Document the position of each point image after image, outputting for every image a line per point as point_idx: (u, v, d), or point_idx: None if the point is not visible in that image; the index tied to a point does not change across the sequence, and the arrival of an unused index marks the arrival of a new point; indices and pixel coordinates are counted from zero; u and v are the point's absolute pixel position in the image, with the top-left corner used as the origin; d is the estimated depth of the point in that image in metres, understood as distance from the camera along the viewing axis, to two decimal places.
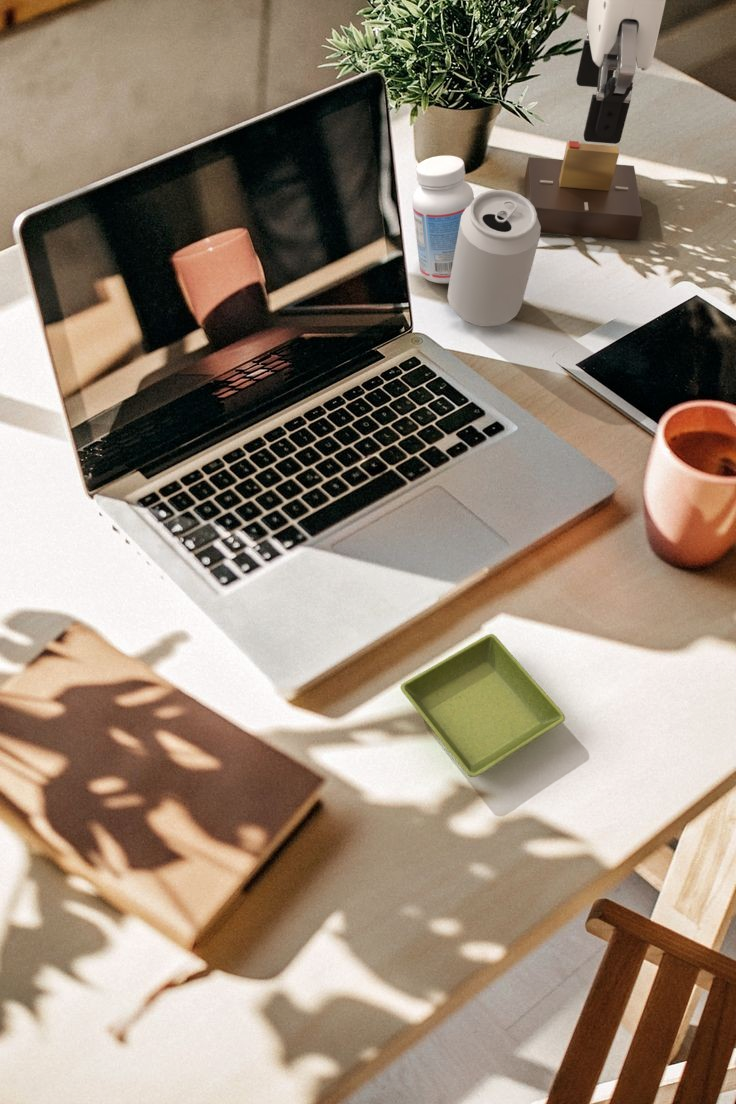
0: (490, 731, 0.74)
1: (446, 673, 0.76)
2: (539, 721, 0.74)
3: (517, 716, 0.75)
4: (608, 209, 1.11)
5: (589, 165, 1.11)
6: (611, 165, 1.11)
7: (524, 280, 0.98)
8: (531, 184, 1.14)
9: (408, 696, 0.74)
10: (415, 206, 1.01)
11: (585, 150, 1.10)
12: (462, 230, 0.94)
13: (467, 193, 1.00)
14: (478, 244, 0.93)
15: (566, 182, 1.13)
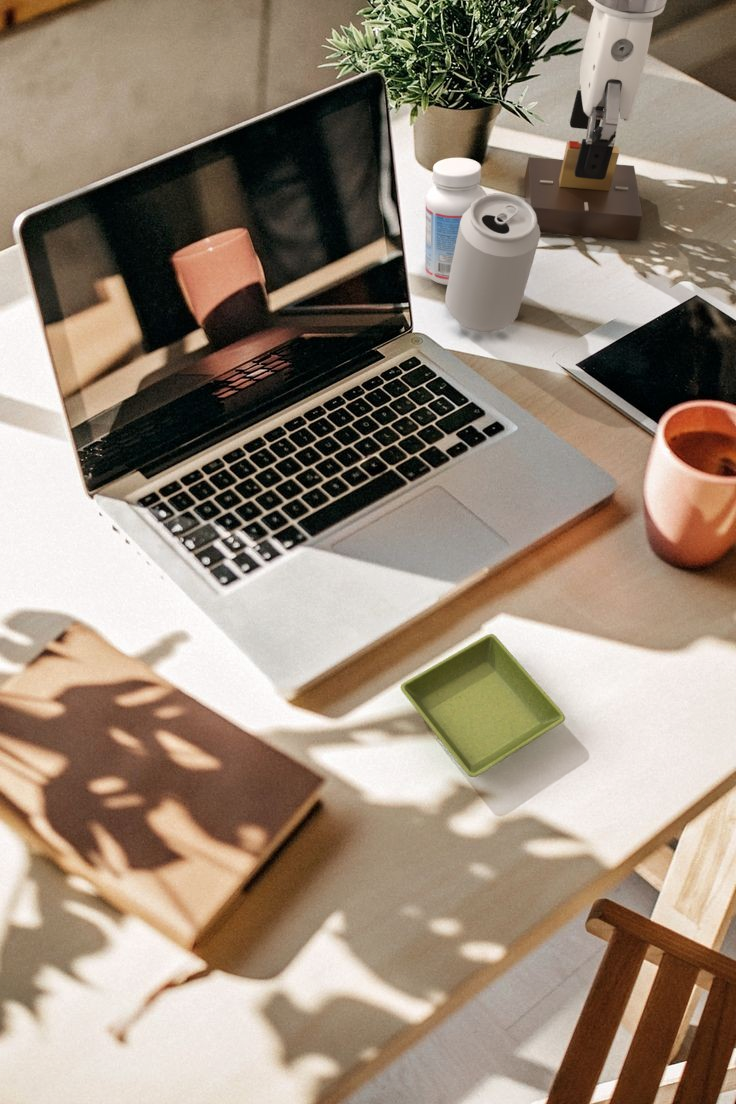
0: (490, 731, 0.74)
1: (446, 673, 0.76)
2: (539, 721, 0.74)
3: (517, 716, 0.75)
4: (608, 209, 1.11)
5: None
6: (611, 165, 1.11)
7: (519, 287, 0.97)
8: (531, 184, 1.14)
9: (408, 696, 0.74)
10: (427, 203, 1.01)
11: None
12: (461, 227, 0.94)
13: None
14: (473, 242, 0.93)
15: (566, 182, 1.13)
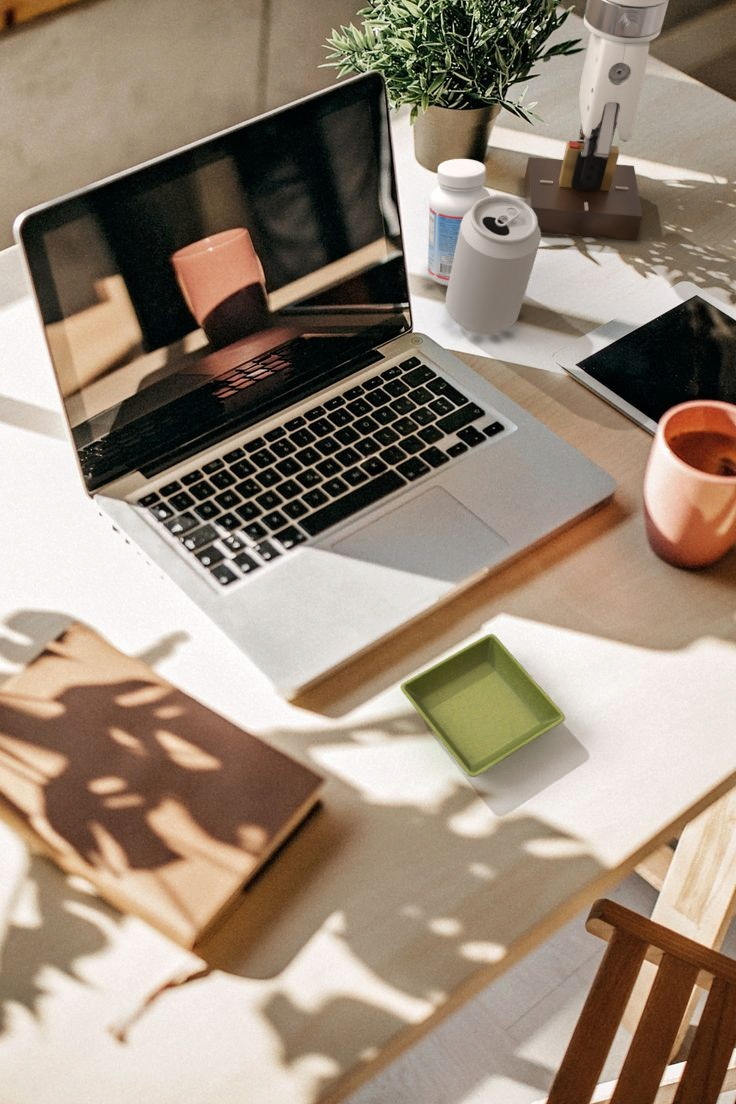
0: (490, 731, 0.74)
1: (446, 673, 0.76)
2: (539, 721, 0.74)
3: (517, 716, 0.75)
4: (608, 209, 1.11)
5: None
6: (611, 165, 1.11)
7: (518, 290, 0.97)
8: (531, 184, 1.14)
9: (408, 696, 0.74)
10: (430, 203, 1.01)
11: None
12: (461, 228, 0.94)
13: None
14: (473, 243, 0.93)
15: (566, 182, 1.13)
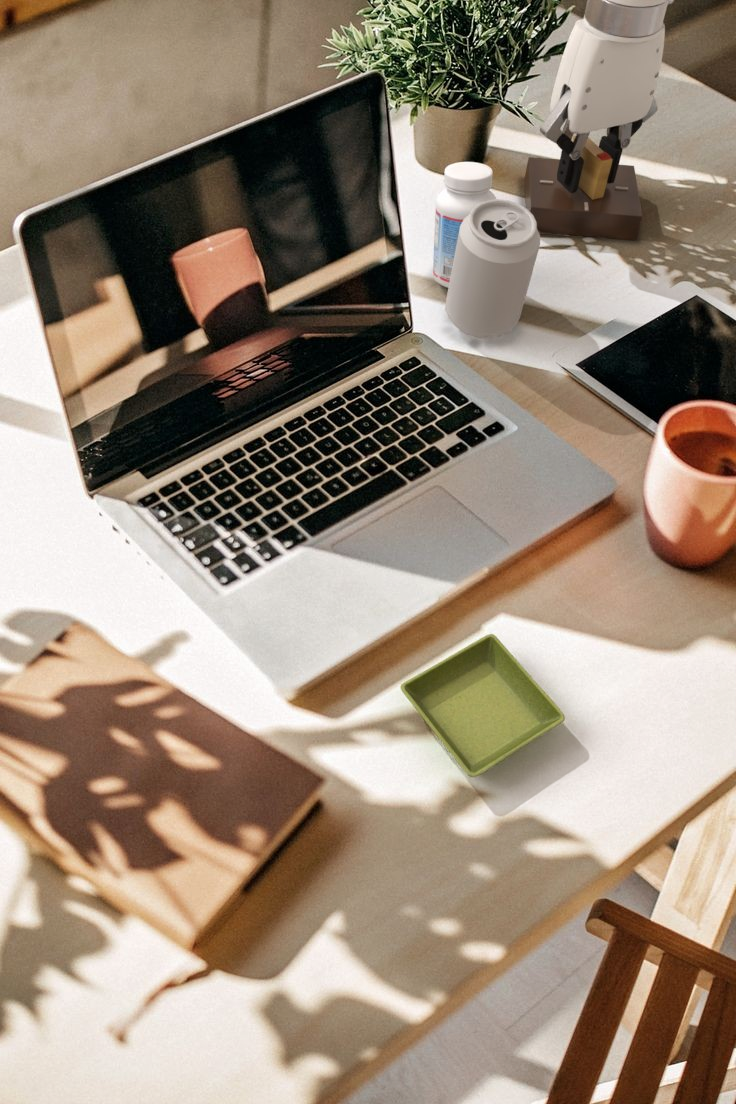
0: (490, 731, 0.74)
1: (446, 673, 0.76)
2: (539, 721, 0.74)
3: (517, 716, 0.75)
4: (608, 209, 1.11)
5: None
6: None
7: (516, 295, 0.97)
8: (531, 184, 1.14)
9: (408, 696, 0.74)
10: (436, 204, 1.01)
11: (602, 150, 1.10)
12: (460, 231, 0.94)
13: None
14: (469, 246, 0.93)
15: None
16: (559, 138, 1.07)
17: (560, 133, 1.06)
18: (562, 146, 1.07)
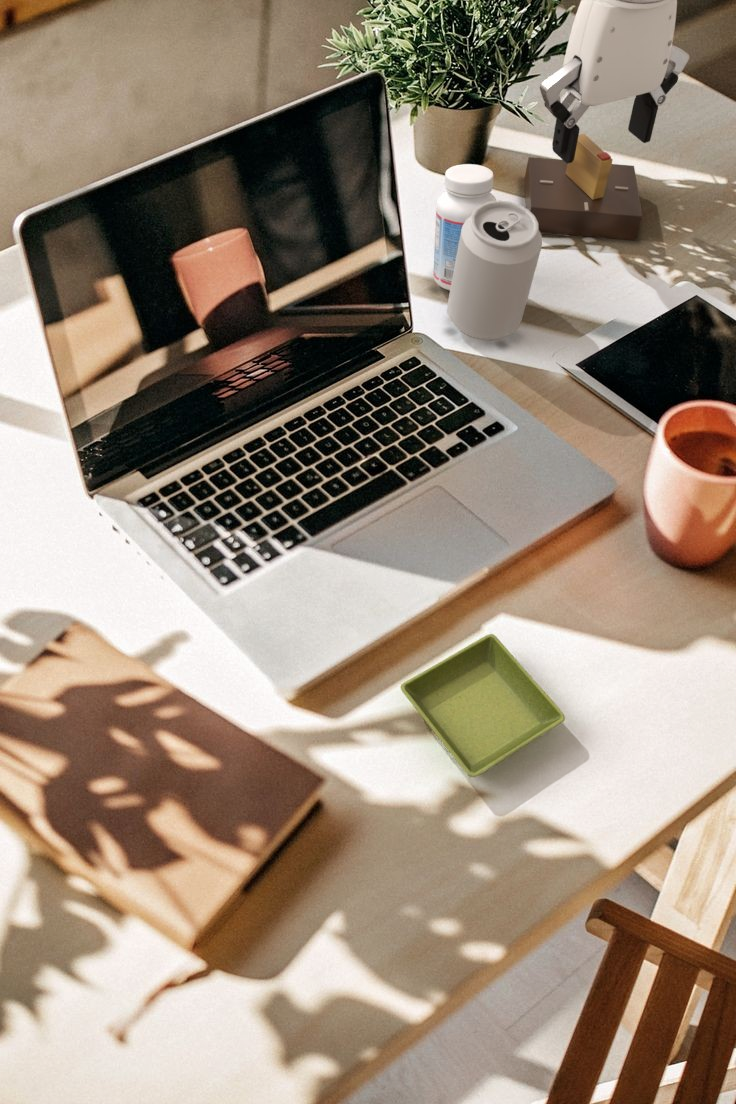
0: (490, 731, 0.74)
1: (446, 673, 0.76)
2: (539, 721, 0.74)
3: (517, 716, 0.75)
4: (608, 209, 1.11)
5: None
6: None
7: (519, 296, 0.97)
8: (531, 184, 1.14)
9: (408, 696, 0.74)
10: (437, 207, 1.01)
11: (602, 150, 1.10)
12: (462, 232, 0.94)
13: None
14: (472, 247, 0.93)
15: None
16: (555, 103, 1.02)
17: (558, 97, 1.02)
18: (556, 114, 1.03)
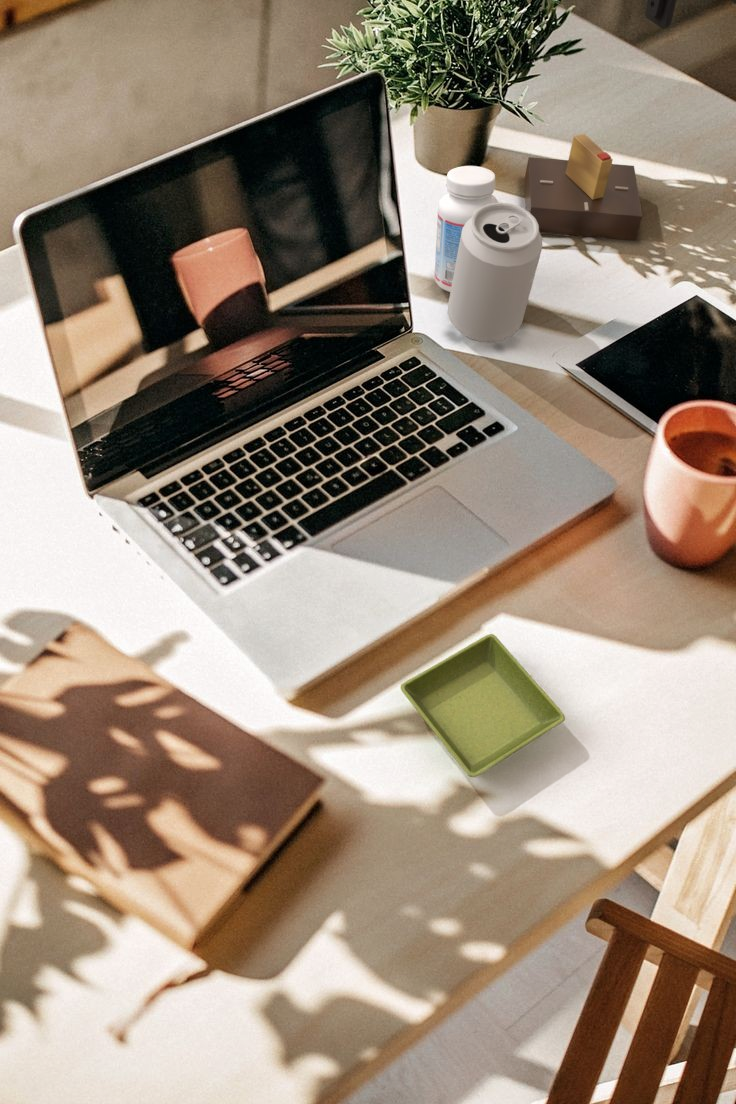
0: (490, 731, 0.74)
1: (446, 673, 0.76)
2: (539, 721, 0.74)
3: (517, 716, 0.75)
4: (608, 209, 1.11)
5: None
6: None
7: (519, 299, 0.96)
8: (531, 184, 1.14)
9: (408, 696, 0.74)
10: (438, 209, 1.01)
11: (602, 150, 1.10)
12: (462, 234, 0.94)
13: None
14: (472, 249, 0.93)
15: None
16: None
17: None
18: None
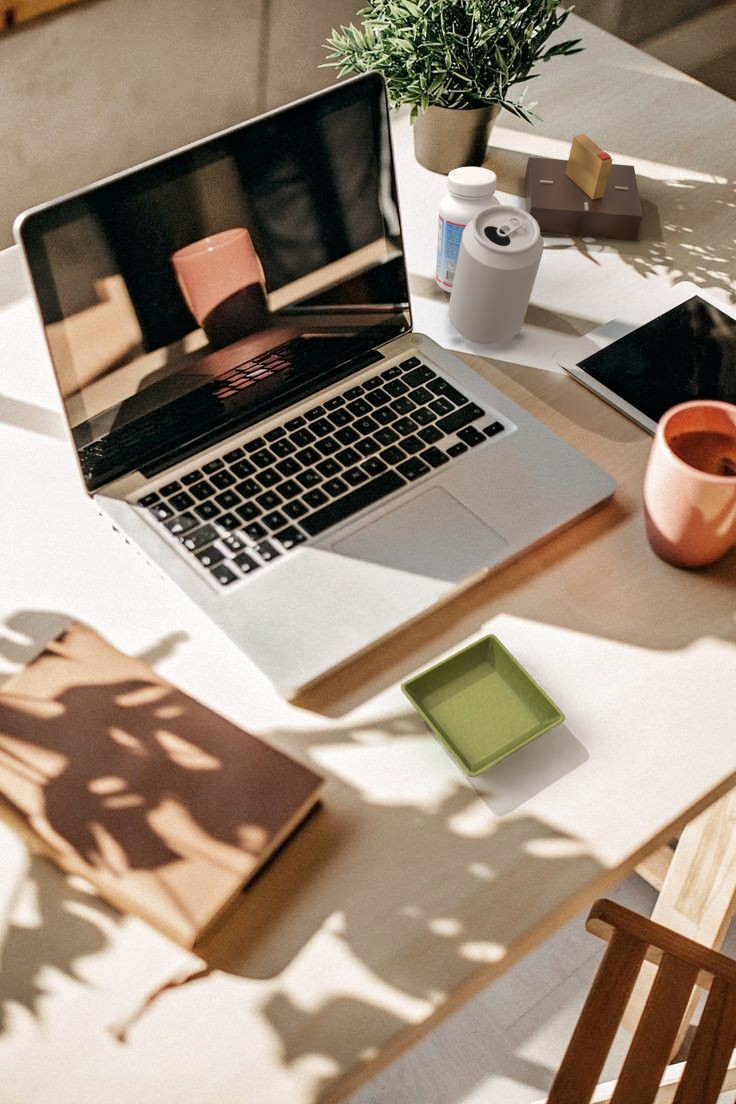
0: (490, 731, 0.74)
1: (446, 673, 0.76)
2: (539, 721, 0.74)
3: (517, 716, 0.75)
4: (608, 209, 1.11)
5: None
6: None
7: (519, 302, 0.96)
8: (531, 184, 1.14)
9: (408, 696, 0.74)
10: (439, 209, 1.00)
11: (602, 150, 1.10)
12: (463, 236, 0.94)
13: None
14: (472, 252, 0.92)
15: None
16: None
17: None
18: None
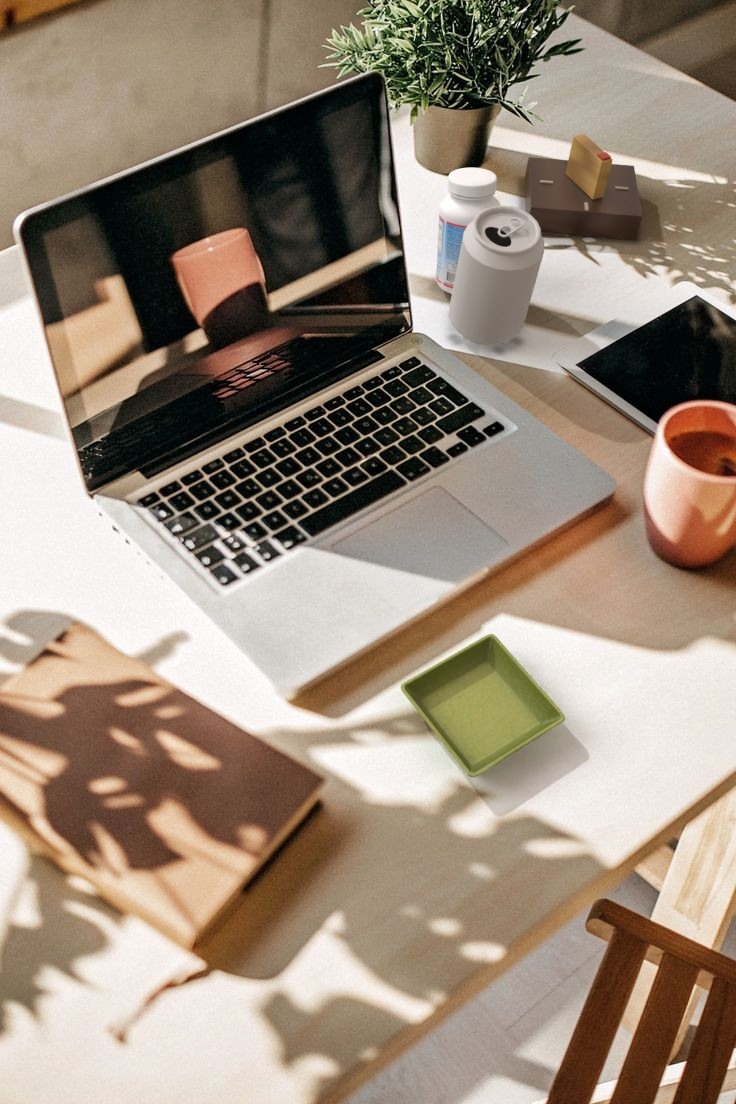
0: (490, 731, 0.74)
1: (446, 673, 0.76)
2: (539, 721, 0.74)
3: (517, 716, 0.75)
4: (608, 209, 1.11)
5: None
6: None
7: (520, 302, 0.96)
8: (531, 184, 1.14)
9: (408, 696, 0.74)
10: (440, 210, 1.00)
11: (602, 150, 1.10)
12: (463, 237, 0.94)
13: None
14: (473, 253, 0.92)
15: None
16: None
17: None
18: None
